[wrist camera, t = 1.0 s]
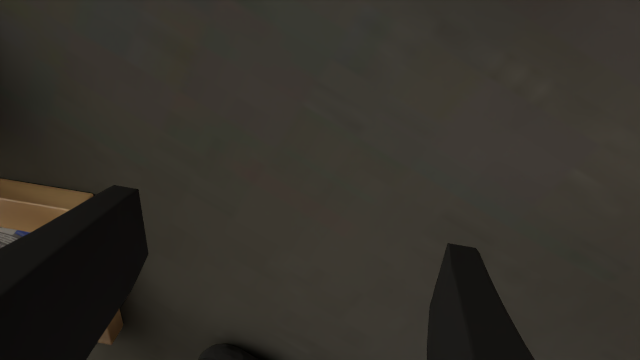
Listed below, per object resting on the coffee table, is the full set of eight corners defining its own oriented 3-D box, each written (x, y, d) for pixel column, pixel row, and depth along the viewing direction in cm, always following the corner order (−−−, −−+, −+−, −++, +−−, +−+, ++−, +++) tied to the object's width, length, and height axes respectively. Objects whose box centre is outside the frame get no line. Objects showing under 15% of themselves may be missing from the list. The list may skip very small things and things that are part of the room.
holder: (124, 325, 32) (111, 345, 31) (-26, 296, 33) (-44, 314, 32) (93, 193, 26) (77, 211, 25) (-87, 163, 27) (-112, 178, 26)
